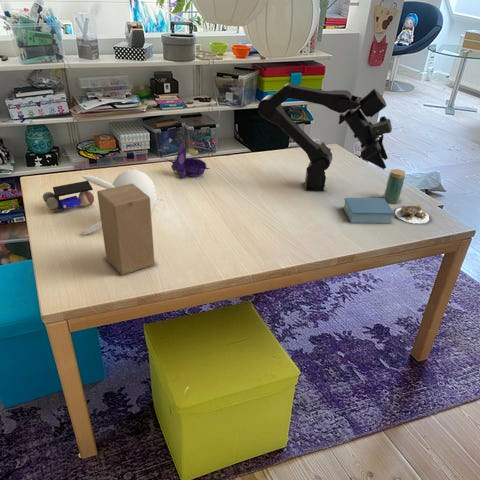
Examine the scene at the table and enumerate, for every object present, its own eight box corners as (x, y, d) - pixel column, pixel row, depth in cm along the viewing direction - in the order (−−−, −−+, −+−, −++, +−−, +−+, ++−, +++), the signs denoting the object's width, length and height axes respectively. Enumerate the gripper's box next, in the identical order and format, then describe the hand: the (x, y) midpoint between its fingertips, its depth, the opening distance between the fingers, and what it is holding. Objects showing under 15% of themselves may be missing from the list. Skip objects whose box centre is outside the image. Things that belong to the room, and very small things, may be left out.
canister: (392, 204, 174) (399, 176, 168) (380, 199, 177) (386, 170, 171) (401, 201, 177) (409, 172, 170) (389, 195, 180) (396, 167, 174)
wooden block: (155, 265, 136) (150, 196, 124) (121, 276, 131) (112, 205, 119) (138, 249, 142) (132, 182, 130) (105, 259, 137) (96, 190, 125)
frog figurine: (410, 226, 161) (413, 215, 159) (386, 211, 170) (389, 200, 167) (437, 221, 166) (440, 210, 163) (413, 206, 174) (415, 195, 172)
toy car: (51, 220, 156) (98, 207, 161) (44, 198, 151) (92, 185, 156) (47, 211, 161) (92, 199, 166) (39, 189, 156) (86, 177, 161)
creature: (161, 172, 187) (159, 139, 180) (207, 168, 192) (207, 136, 185) (166, 181, 181) (164, 147, 173) (213, 177, 186) (214, 144, 178)
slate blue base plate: (350, 223, 161) (352, 212, 159) (342, 208, 170) (344, 197, 168) (391, 223, 163) (394, 212, 160) (381, 208, 171) (384, 198, 169)
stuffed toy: (155, 161, 153) (73, 162, 140) (174, 180, 144) (88, 184, 132) (150, 216, 164) (73, 222, 152) (166, 237, 156) (86, 245, 143)
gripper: (378, 118, 154) (406, 158, 158) (382, 103, 168) (407, 140, 173) (348, 140, 160) (375, 178, 165) (354, 123, 174) (379, 159, 179)
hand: (385, 163), depth 170 cm, fingers open, 9 cm apart
